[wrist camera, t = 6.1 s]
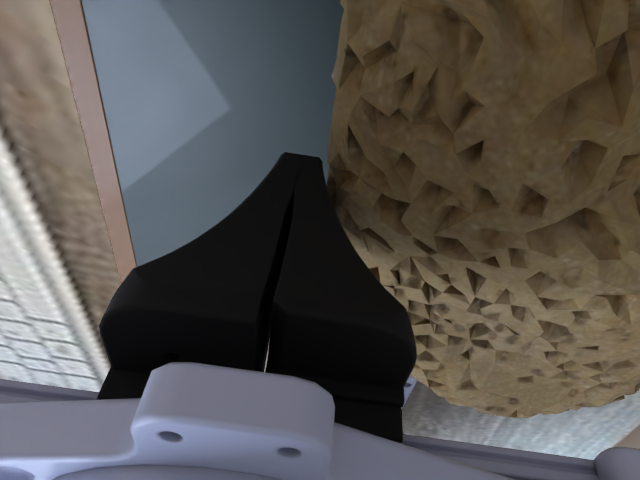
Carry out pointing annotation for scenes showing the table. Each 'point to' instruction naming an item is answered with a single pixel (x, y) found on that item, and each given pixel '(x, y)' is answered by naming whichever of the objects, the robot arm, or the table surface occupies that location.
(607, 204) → the sponge
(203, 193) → the chalkboard
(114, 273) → the table surface
